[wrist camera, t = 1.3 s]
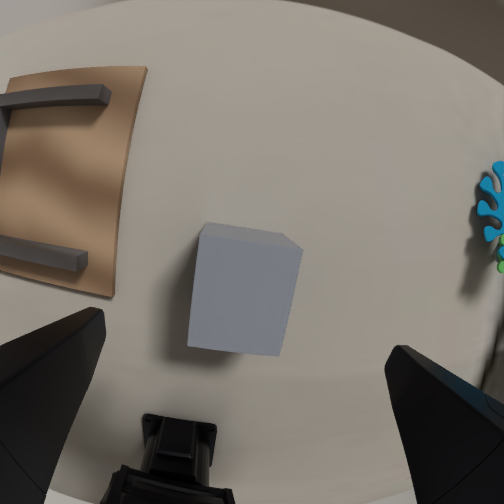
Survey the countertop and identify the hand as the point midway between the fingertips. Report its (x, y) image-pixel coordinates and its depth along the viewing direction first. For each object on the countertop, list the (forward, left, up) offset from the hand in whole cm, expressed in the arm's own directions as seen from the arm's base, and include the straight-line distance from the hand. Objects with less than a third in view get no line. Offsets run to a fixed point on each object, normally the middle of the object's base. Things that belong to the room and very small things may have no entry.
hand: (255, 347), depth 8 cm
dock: (+4, +15, -12) cm, 19 cm away
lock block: (-1, 0, -12) cm, 12 cm away
